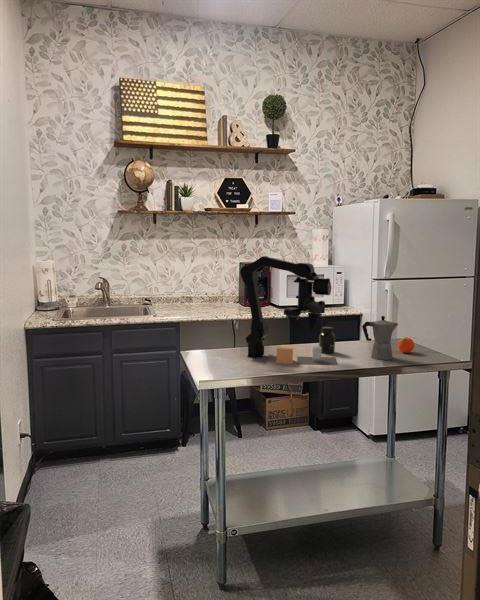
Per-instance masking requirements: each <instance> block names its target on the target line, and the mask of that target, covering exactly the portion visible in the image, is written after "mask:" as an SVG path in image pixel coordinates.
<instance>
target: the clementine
mask: <svg viewBox="0 0 480 600" xmlns="http://www.w3.org/2000/svg"><path fill="white" fill-rule="evenodd" d="M397 347H398V349H399V350H400V352H402V353H405V354H407V353H408V354H409V353H411V352H412V351H413V350H414V349H415V342H414V340H413V339H412V338H410V337H407V336H406V337H402V338H400V339H399V341H398V343H397Z"/></svg>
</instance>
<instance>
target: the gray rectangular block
mask: <svg viewBox="0 0 480 600" xmlns="http://www.w3.org/2000/svg"><path fill="white" fill-rule="evenodd" d="M321 349H322V348H321V346H319V345H317V346H312V357H313V362H321V357H322V353H321Z"/></svg>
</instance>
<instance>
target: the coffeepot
mask: <svg viewBox="0 0 480 600" xmlns="http://www.w3.org/2000/svg"><path fill="white" fill-rule="evenodd" d="M385 318H386V316H384V315H382V316H381V320H375V321H365V322H364V323H363V324H362V326H361V327H362V331H363V335H364V337H365V340H366V341H368V342H370V341H372V338H369V333H368V328H367V327H371V328H372V335H373V339H374V342H373V344H372V345H373V346H372V351H371V356H370V358H372V359H374V360H381V361H387V360H392V359H393V351H392V344H391V343H392V342H391V341H392V335H393V333H394V331H395V329H396V328H397V326H399V323H397V322H394V321H389V320H385Z"/></svg>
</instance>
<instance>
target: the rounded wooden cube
mask: <svg viewBox="0 0 480 600" xmlns="http://www.w3.org/2000/svg"><path fill="white" fill-rule="evenodd" d="M293 355H294V346H293V345H283V344H281V345H277V346H276V364H285V365H288V364H289V365H290V364H291V365H292V364H293V363H294V361H293V360H294V356H293Z"/></svg>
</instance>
